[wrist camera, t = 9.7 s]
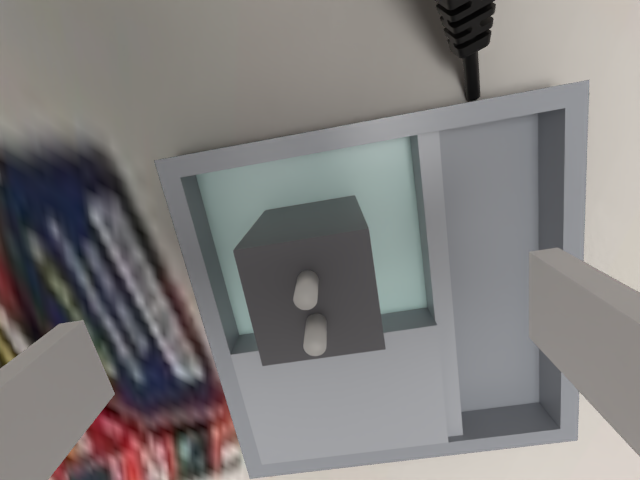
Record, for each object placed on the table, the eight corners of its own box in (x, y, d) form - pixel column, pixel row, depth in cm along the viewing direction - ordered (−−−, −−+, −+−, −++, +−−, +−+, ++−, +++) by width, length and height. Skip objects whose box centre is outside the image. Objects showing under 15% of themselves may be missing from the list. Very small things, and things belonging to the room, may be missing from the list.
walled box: (177, 156, 20) (153, 160, 17) (551, 87, 19) (589, 79, 16) (258, 442, 26) (250, 478, 23) (549, 405, 24) (577, 440, 21)
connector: (264, 210, 20) (220, 266, 12) (354, 195, 20) (374, 241, 11) (283, 292, 21) (254, 393, 13) (367, 279, 21) (392, 375, 13)
